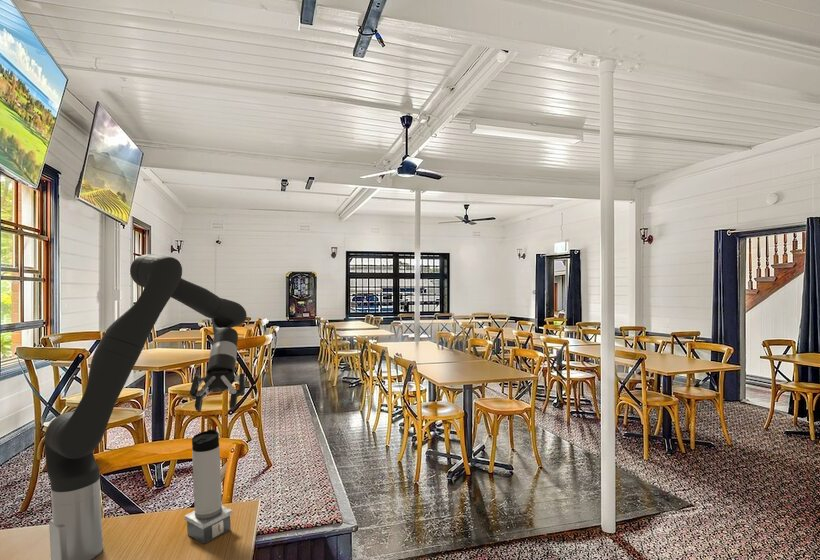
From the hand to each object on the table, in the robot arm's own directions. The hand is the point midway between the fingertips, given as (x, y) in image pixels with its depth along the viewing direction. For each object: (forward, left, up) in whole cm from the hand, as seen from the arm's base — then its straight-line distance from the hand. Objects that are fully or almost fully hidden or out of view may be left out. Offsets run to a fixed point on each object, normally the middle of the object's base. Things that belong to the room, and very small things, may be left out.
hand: (215, 409), depth 127 cm
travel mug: (-8, -8, -23) cm, 25 cm away
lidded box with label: (-8, -8, -28) cm, 30 cm away
